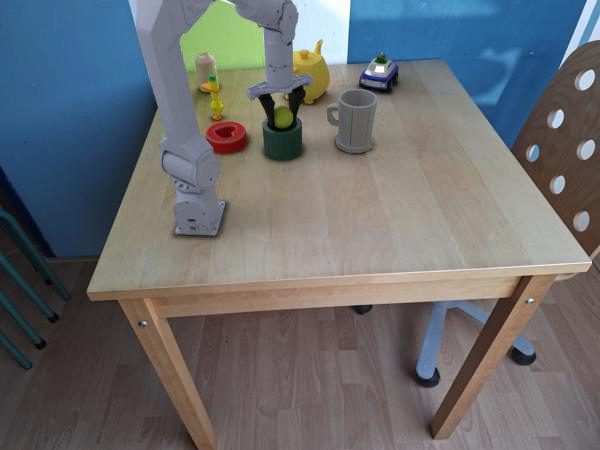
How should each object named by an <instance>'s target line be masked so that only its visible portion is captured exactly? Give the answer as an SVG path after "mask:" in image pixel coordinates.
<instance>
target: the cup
mask: <svg viewBox="0 0 600 450" xmlns="http://www.w3.org/2000/svg"><path fill="white" fill-rule="evenodd" d="M378 102H379V98H378V96H377V94H375V93H374V92H372V91H370V90H368V89H363V88H351V89H346V90H344V91H341V93H339V95H338V97H337V103H330V104H329V105H328V106H327V107H326V121H327V123H328V124H329V125H330V126H333V127H337V135H336V137H335V144H336V146H337V148H338V149H340V150H341V151H343V152H345V153H349V154H361V153H365V152H367V151H369V150H370V149H371V148H372V147H373V143H374V139H373V128H374V121H375V116H376V112H377V107H378ZM333 112H337V113H338V117H337V118H338V119H336V117H335V116H334V114H333Z"/></svg>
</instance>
